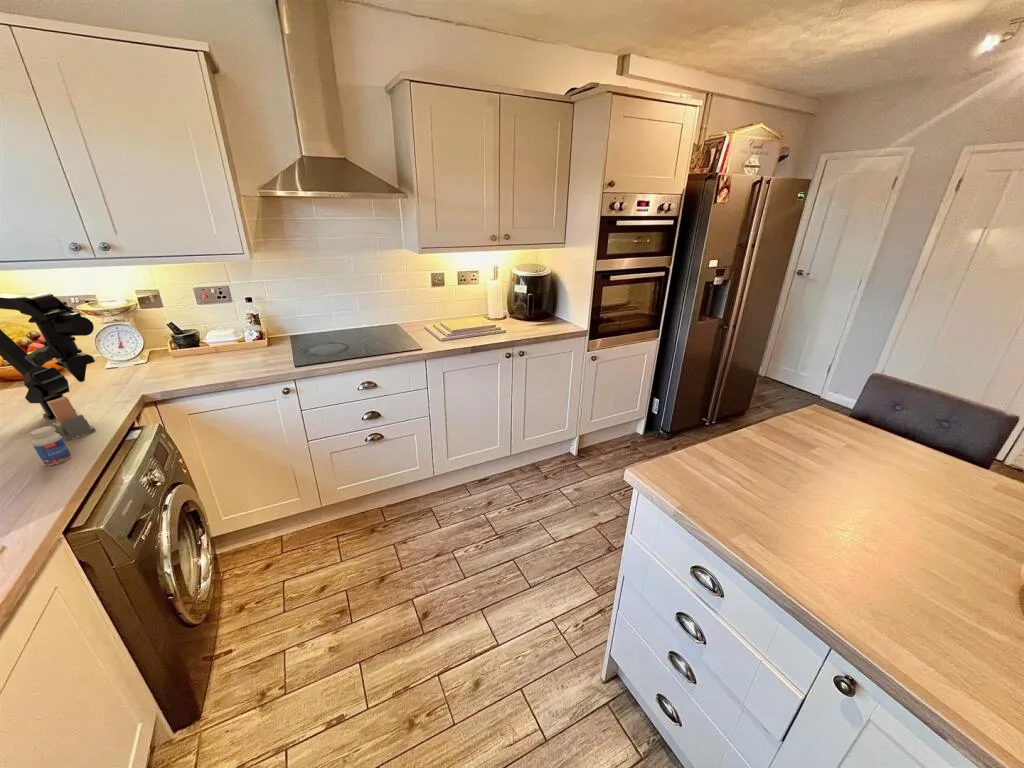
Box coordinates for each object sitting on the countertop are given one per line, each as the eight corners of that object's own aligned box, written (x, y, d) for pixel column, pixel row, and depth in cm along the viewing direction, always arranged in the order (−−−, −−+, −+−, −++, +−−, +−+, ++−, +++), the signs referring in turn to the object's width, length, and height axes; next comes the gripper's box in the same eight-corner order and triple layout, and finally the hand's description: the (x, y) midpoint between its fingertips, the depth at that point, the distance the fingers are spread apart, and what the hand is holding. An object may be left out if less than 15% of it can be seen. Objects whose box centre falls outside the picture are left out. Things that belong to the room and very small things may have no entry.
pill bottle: (54, 467, 110) (35, 436, 106) (39, 465, 111) (19, 434, 107) (77, 455, 115) (60, 425, 111) (63, 453, 116) (45, 424, 112)
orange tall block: (63, 430, 125) (46, 401, 121) (80, 424, 128) (64, 396, 124) (66, 432, 124) (49, 403, 120) (83, 426, 127) (67, 397, 123)
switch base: (55, 433, 126) (45, 416, 124) (82, 423, 131) (73, 407, 129) (68, 440, 122) (58, 423, 119) (95, 430, 127) (86, 413, 124)
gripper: (9, 339, 123) (36, 386, 129) (31, 348, 114) (59, 397, 121) (59, 328, 131) (82, 373, 138) (83, 336, 123) (106, 383, 130)
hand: (82, 381), depth 132 cm, fingers closed
